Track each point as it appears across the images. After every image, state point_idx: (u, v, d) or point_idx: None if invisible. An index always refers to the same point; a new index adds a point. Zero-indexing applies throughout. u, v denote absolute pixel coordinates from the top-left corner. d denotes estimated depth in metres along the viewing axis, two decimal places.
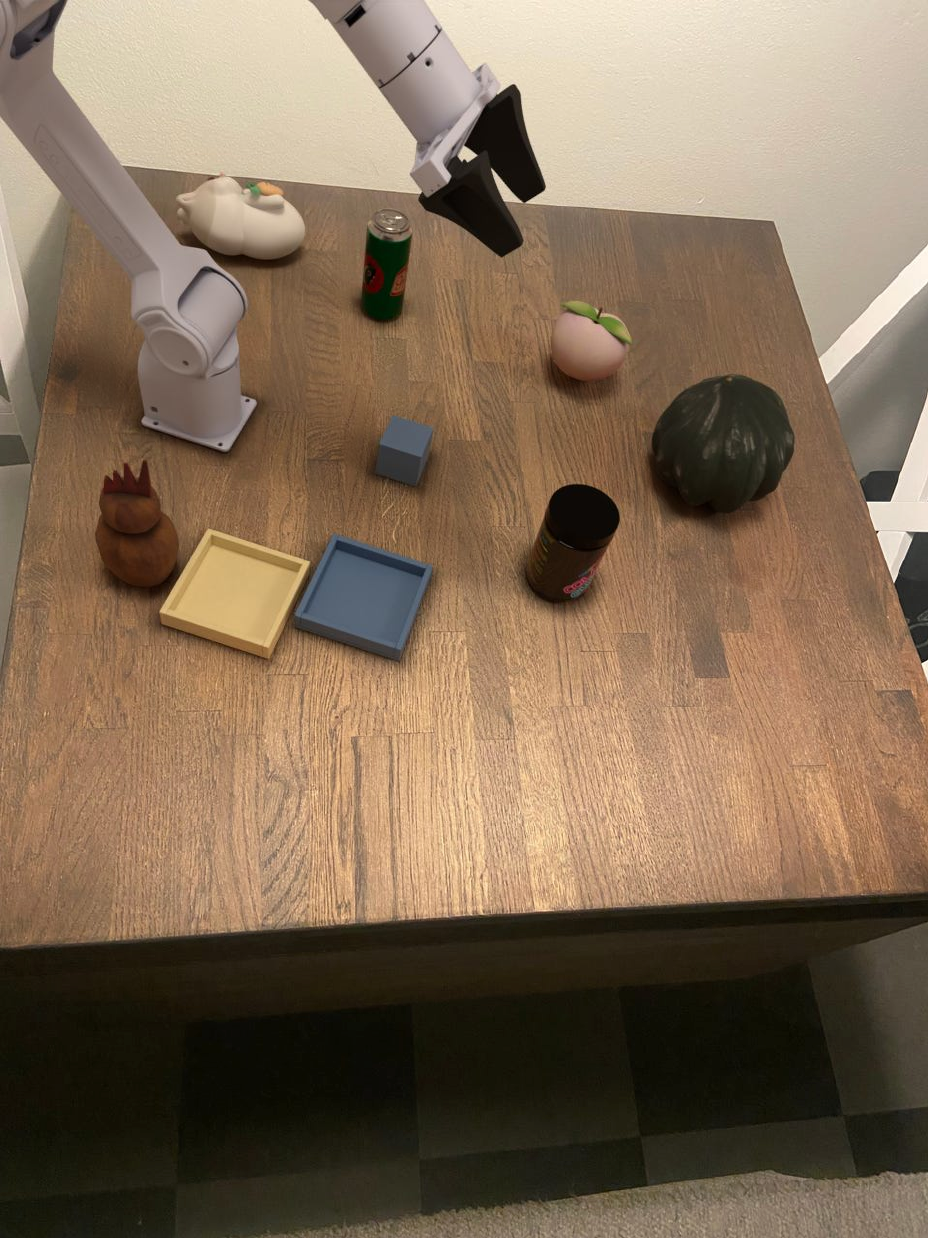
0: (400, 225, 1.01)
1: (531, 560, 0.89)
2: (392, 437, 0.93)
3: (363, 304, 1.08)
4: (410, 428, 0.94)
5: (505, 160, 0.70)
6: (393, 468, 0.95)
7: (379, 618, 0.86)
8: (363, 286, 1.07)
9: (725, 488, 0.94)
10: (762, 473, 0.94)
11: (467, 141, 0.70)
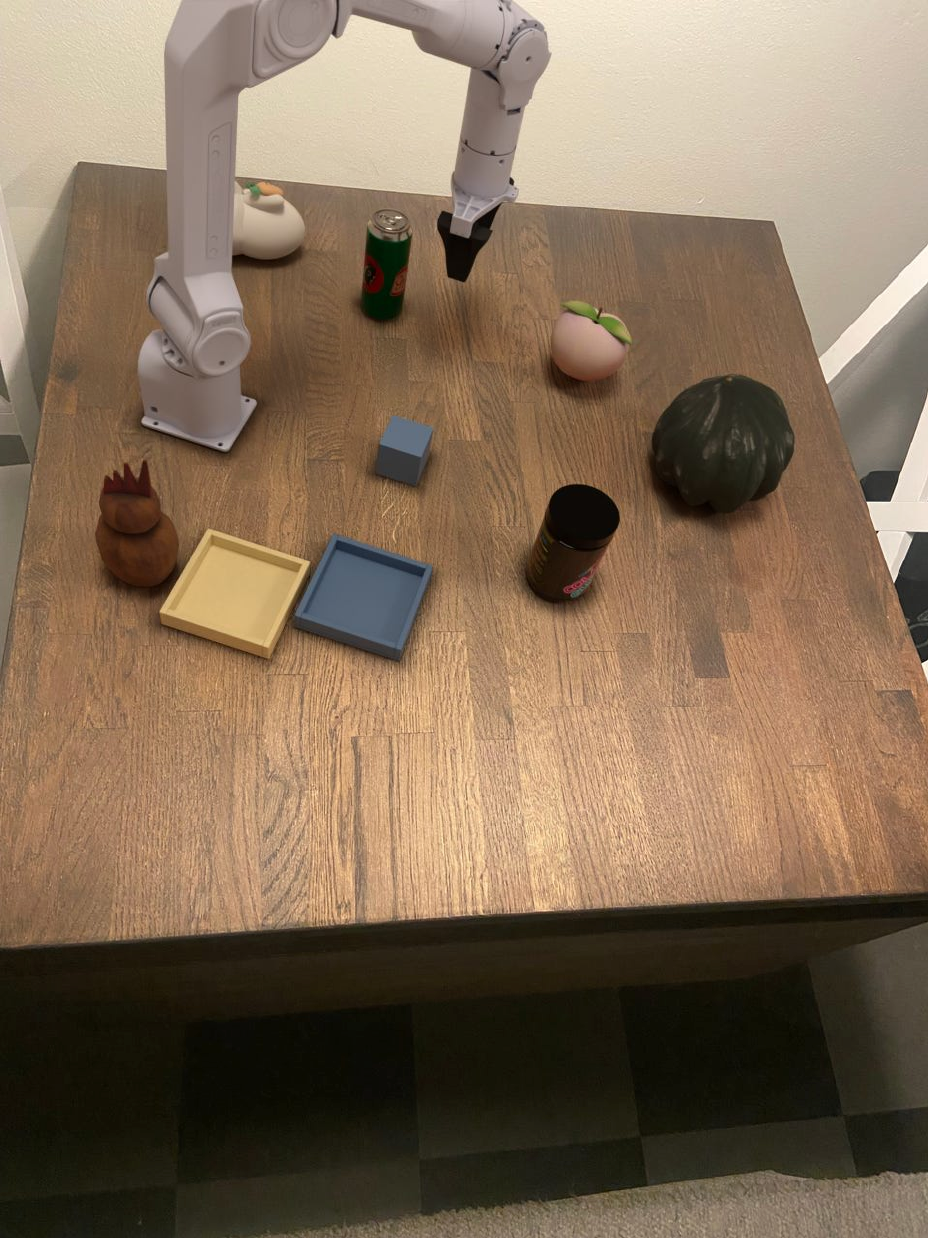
0: (400, 225, 1.01)
1: (531, 560, 0.89)
2: (392, 437, 0.93)
3: (363, 304, 1.08)
4: (410, 428, 0.94)
5: None
6: (393, 468, 0.95)
7: (379, 618, 0.86)
8: (363, 286, 1.07)
9: (725, 488, 0.94)
10: (762, 473, 0.94)
11: None
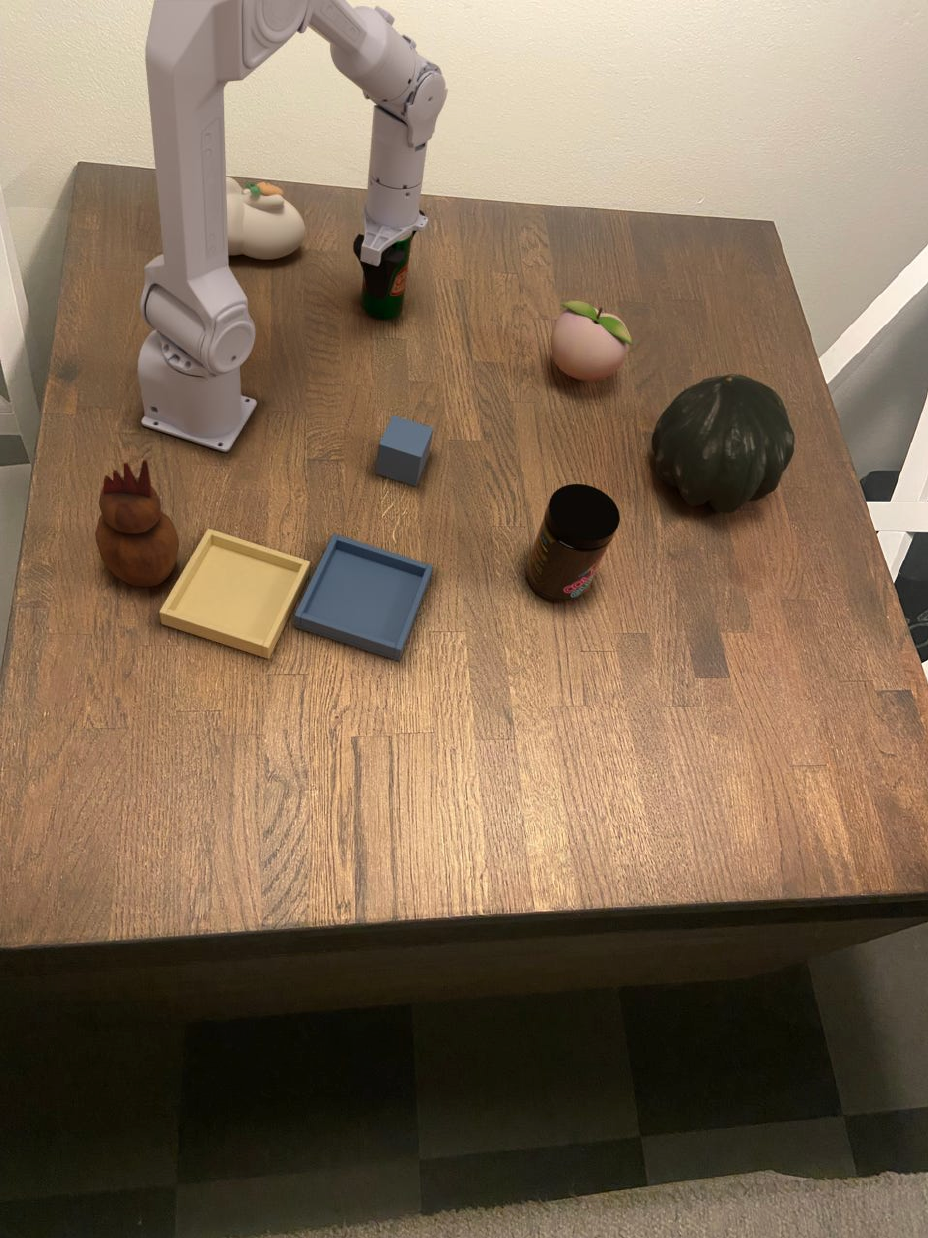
0: None
1: (531, 560, 0.89)
2: (392, 437, 0.93)
3: (363, 304, 1.08)
4: (410, 428, 0.94)
5: None
6: (393, 468, 0.95)
7: (379, 618, 0.86)
8: (363, 286, 1.07)
9: (725, 488, 0.94)
10: (762, 473, 0.94)
11: None
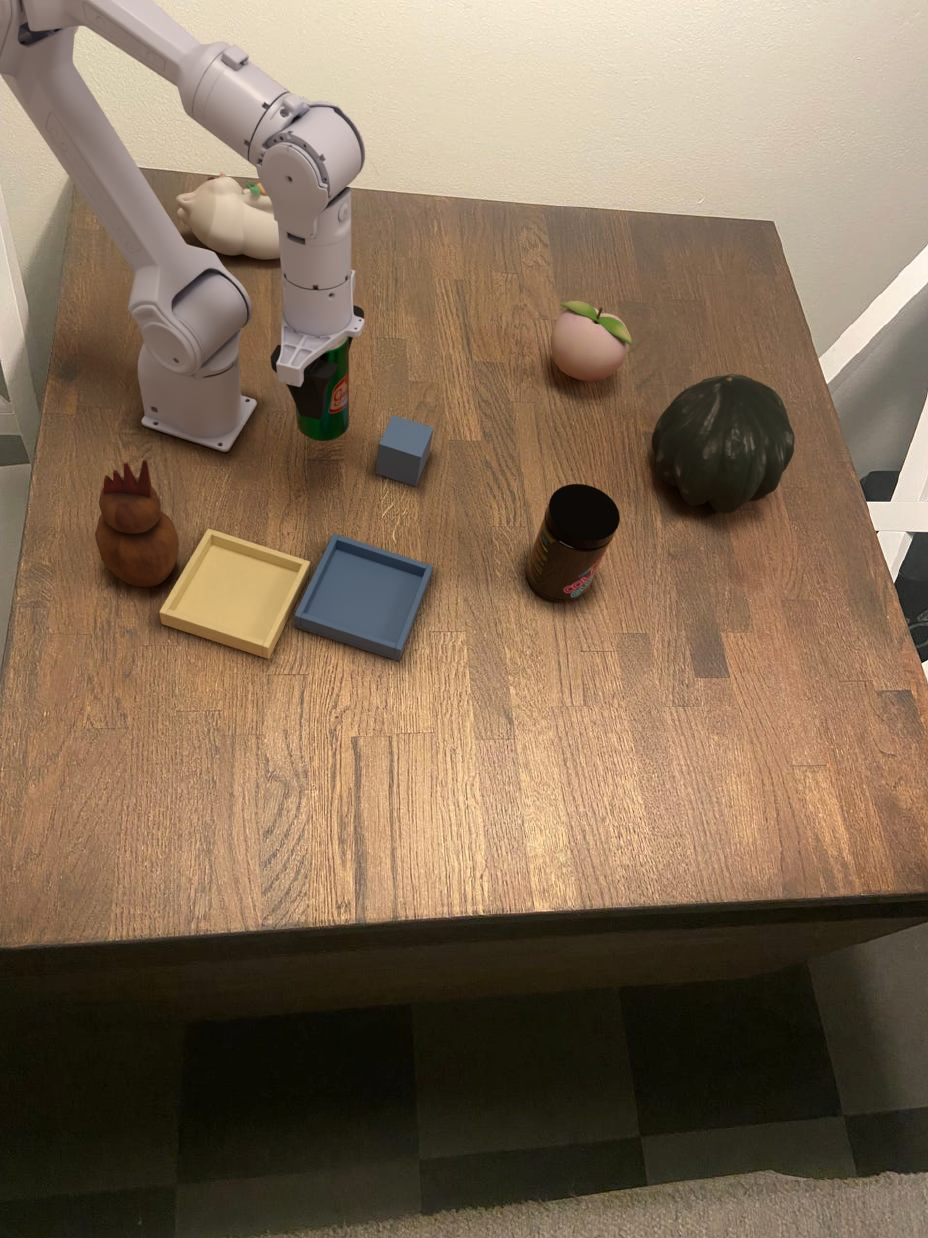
0: None
1: (531, 560, 0.89)
2: (392, 437, 0.93)
3: (298, 423, 0.87)
4: (410, 428, 0.94)
5: None
6: (393, 468, 0.95)
7: (379, 618, 0.86)
8: None
9: (725, 488, 0.94)
10: (761, 473, 0.94)
11: None
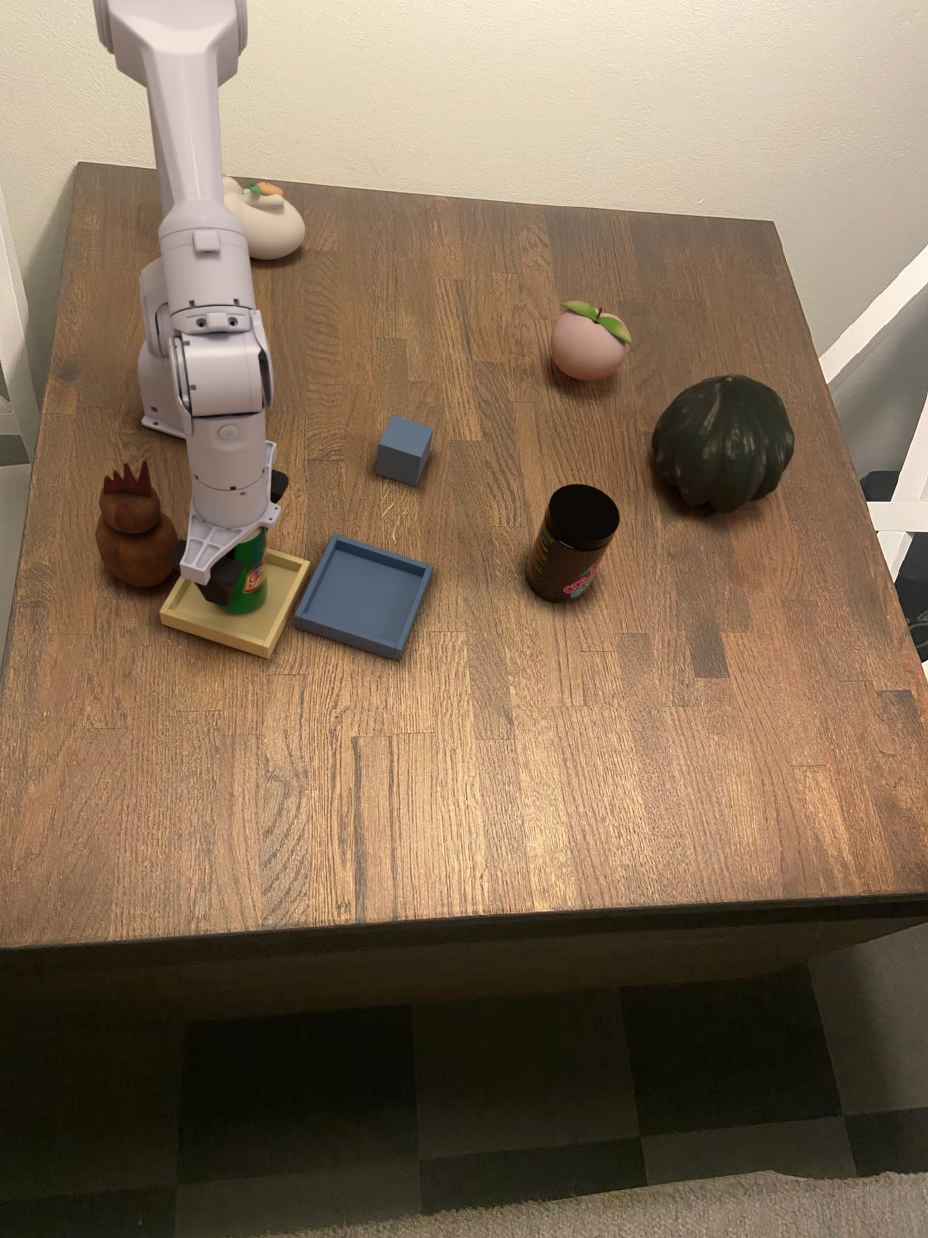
0: None
1: (531, 560, 0.89)
2: (392, 437, 0.93)
3: None
4: (410, 428, 0.94)
5: None
6: (393, 468, 0.95)
7: (379, 618, 0.86)
8: None
9: (725, 488, 0.94)
10: (761, 473, 0.94)
11: None
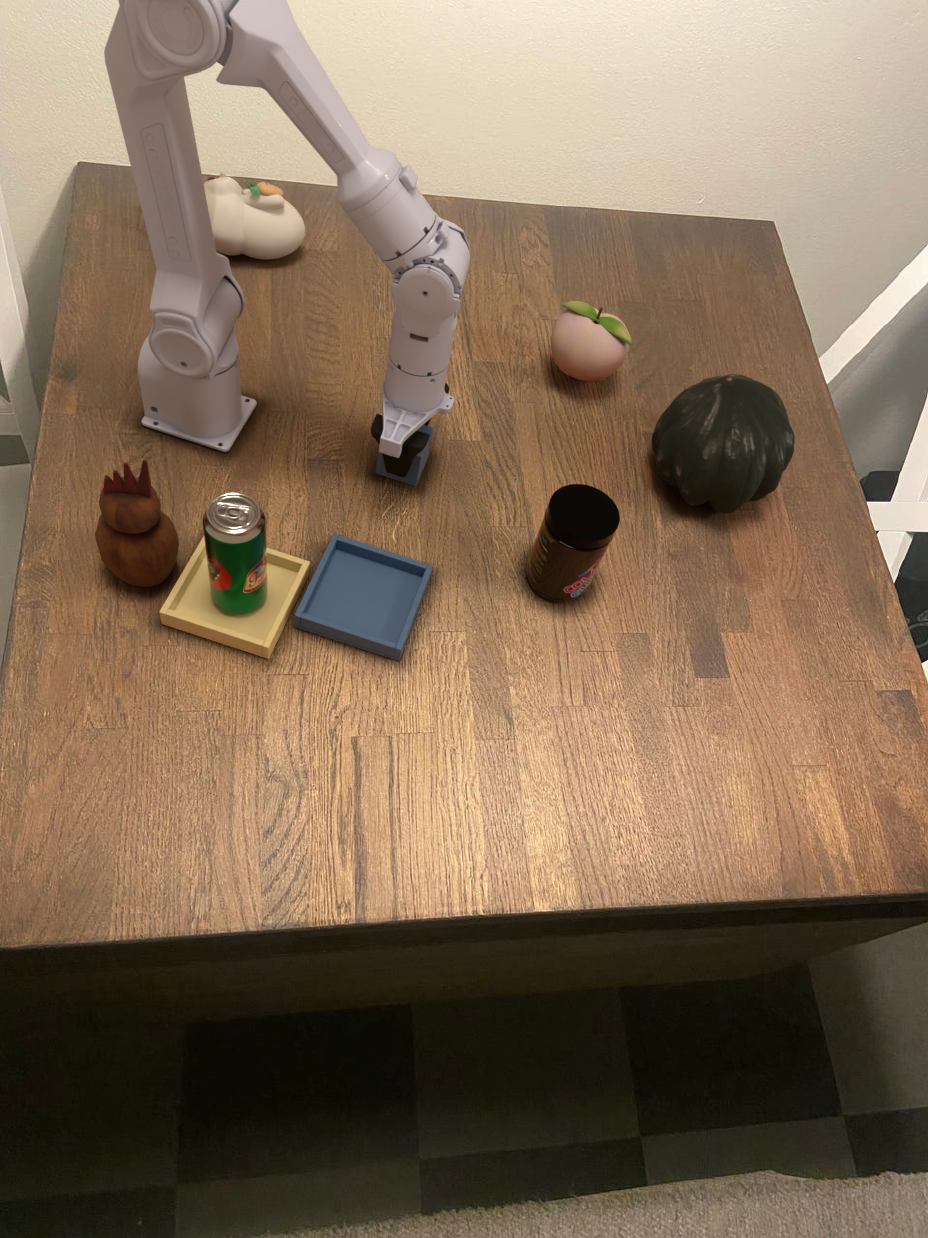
0: (247, 519, 0.75)
1: (531, 560, 0.89)
2: None
3: (212, 596, 0.82)
4: None
5: None
6: None
7: (379, 618, 0.86)
8: (209, 578, 0.81)
9: (725, 488, 0.94)
10: (761, 473, 0.94)
11: None
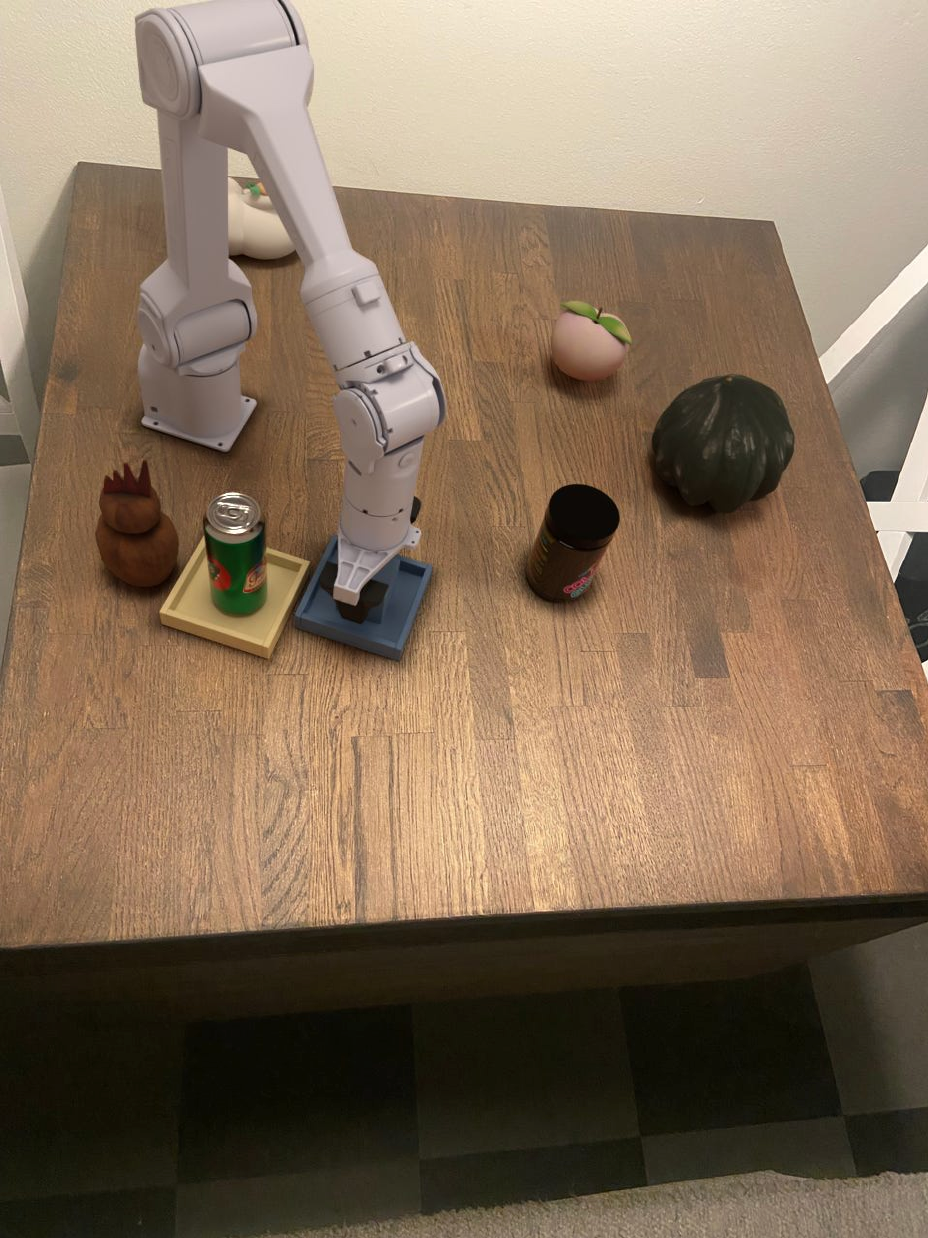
0: (247, 519, 0.75)
1: (531, 560, 0.89)
2: None
3: (212, 596, 0.82)
4: None
5: None
6: None
7: None
8: (209, 578, 0.81)
9: (725, 488, 0.94)
10: (761, 473, 0.94)
11: None
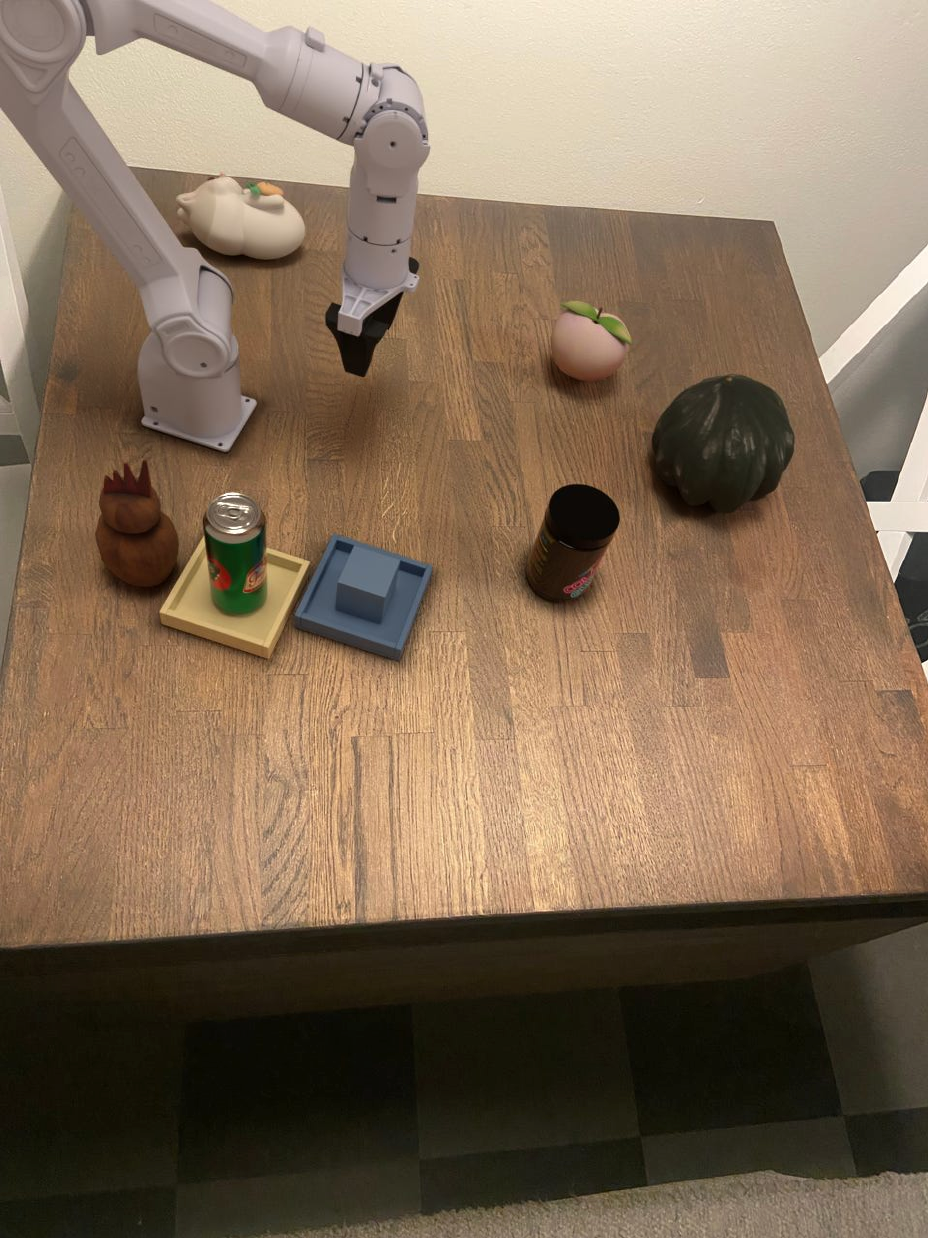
0: (247, 519, 0.75)
1: (531, 560, 0.89)
2: (352, 574, 0.82)
3: (212, 596, 0.82)
4: (373, 561, 0.83)
5: None
6: (355, 606, 0.84)
7: None
8: (209, 578, 0.81)
9: (725, 488, 0.94)
10: (761, 473, 0.94)
11: None
